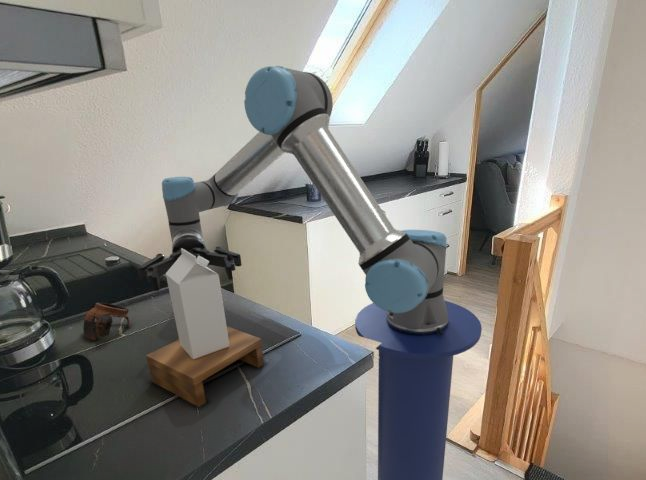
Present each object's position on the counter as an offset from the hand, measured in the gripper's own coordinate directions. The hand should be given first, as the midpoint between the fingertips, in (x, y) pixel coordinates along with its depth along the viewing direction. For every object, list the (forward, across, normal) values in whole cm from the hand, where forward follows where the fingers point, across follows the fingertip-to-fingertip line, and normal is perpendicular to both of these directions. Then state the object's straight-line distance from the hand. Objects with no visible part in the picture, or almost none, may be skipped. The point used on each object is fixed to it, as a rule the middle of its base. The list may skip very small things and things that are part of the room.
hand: (194, 278), depth 78 cm
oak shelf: (+6, 0, -18) cm, 19 cm away
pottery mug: (-22, +21, -18) cm, 36 cm away
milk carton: (+5, 0, -12) cm, 14 cm away
